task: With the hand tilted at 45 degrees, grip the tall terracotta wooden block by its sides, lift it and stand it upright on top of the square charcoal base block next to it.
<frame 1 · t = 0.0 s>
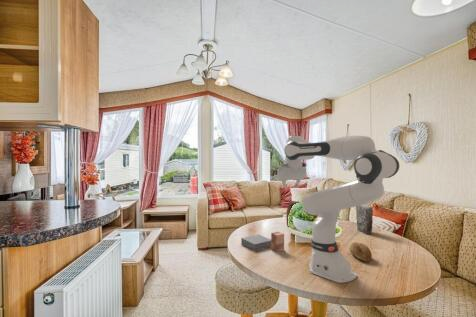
hand: (290, 187, 147), 39 cm above the table, tool pointing down, fingers open, 8 cm apart
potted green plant: (293, 226, 207), on the table
base block: (256, 245, 161), on the table
terracotta block: (277, 249, 154), on the table
bread roll: (360, 258, 142), on the table
stone block: (364, 232, 191), on the table
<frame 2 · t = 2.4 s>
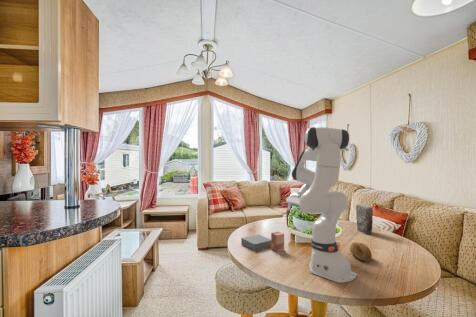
hand: (293, 211, 161), 22 cm above the table, tool tilted 45°, fingers open, 8 cm apart
nothing on the table moved.
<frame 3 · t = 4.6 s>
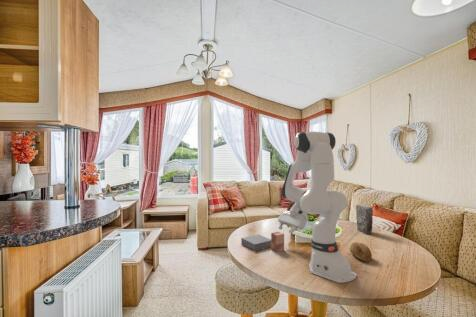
hand: (285, 230, 157), 11 cm above the table, tool tilted 45°, fingers open, 8 cm apart
nothing on the table moved.
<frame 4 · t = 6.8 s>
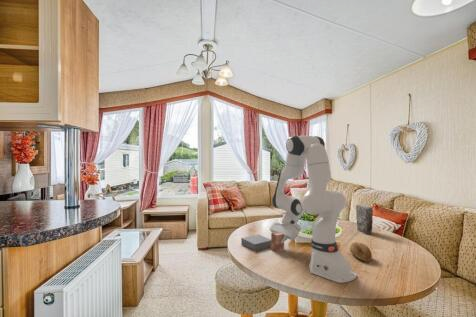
hand: (276, 241, 153), 5 cm above the table, tool tilted 45°, fingers closed on terracotta block, 5 cm apart
terracotta block: (277, 249, 154), on the table, touching gripper
everything else where it was.
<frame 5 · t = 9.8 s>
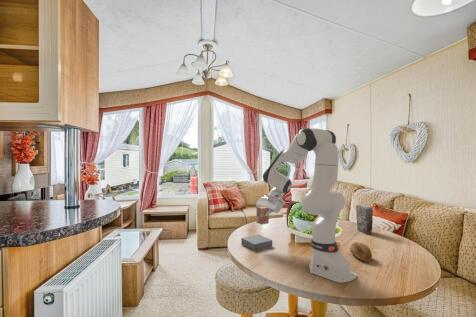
hand: (261, 214, 159), 20 cm above the table, tool tilted 45°, fingers closed on terracotta block, 5 cm apart
terracotta block: (262, 222, 160), point 15 cm above the table, touching gripper
everything else where it was.
when the fingers open (11 cm above the table, at t = 12.7 s): terracotta block drops 1 cm, resting on base block.
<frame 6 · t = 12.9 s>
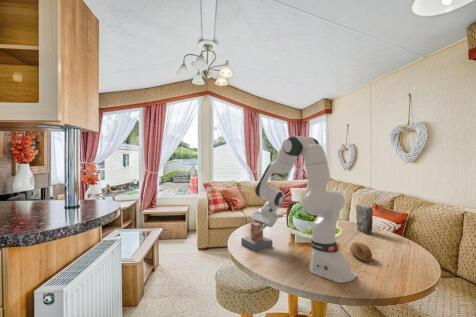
hand: (255, 228, 161), 11 cm above the table, tool tilted 45°, fingers open, 7 cm apart
terracotta block: (256, 239, 161), point 4 cm above the table, touching base block
everything else where it was.
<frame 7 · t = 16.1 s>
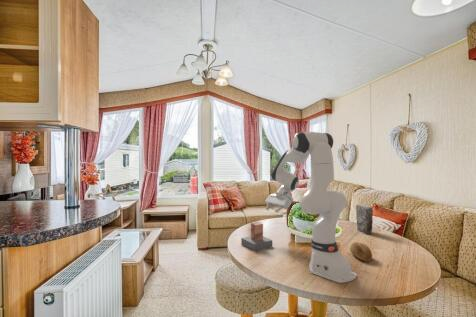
hand: (271, 210, 168), 21 cm above the table, tool tilted 45°, fingers open, 8 cm apart
nothing on the table moved.
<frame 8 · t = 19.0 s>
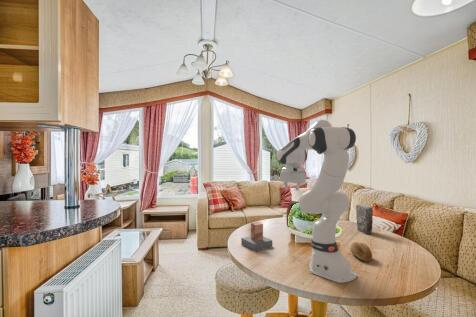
hand: (291, 189, 166), 35 cm above the table, tool pointing down, fingers open, 8 cm apart
nothing on the table moved.
at the end: terracotta block 0.1 cm off-centre on the base block, point 4.0 cm above the base block's base; terracotta block tilted 0°; the gripper is holding nothing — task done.
